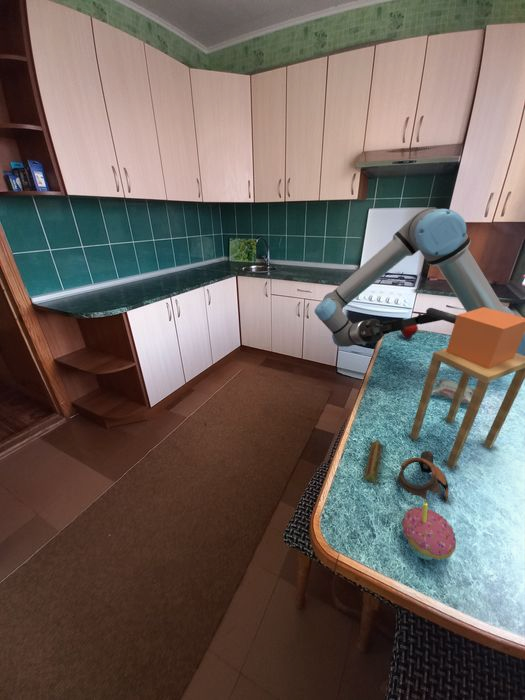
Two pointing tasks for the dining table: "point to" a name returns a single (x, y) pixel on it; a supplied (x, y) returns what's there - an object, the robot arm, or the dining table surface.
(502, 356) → the orange handled block
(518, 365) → the wooden stool
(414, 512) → the cupcake
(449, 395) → the packaged food
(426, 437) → the dining table surface
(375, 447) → the chocolate bar
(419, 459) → the rusty ring bracket
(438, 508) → the dining table surface
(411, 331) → the strawberry
